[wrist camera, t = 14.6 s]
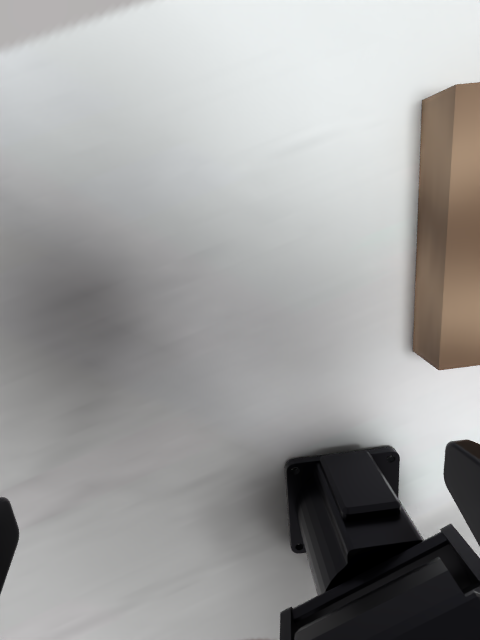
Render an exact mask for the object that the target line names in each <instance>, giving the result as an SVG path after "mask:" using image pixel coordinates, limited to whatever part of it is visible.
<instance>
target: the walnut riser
mask: <svg viewBox="0 0 480 640" xmlns="http://www.w3.org/2000/svg"><path fill="white" fill-rule="evenodd" d="M413 352H415V353H416V354H417V355H419V356H420V357H421V358H423V359H424V360H426V361H427V362H428V363H430V364H431V365H432V366H434V367H435V368H436V369H438V370H445V369H453V368H461V367H468V366H476V365H480V82H478V83H468V84H457V85H454V86H452V87H450V88H448V89H446V90H443V91H441V92H439V93H437V94H435V95H433V96H431V97H428V98H426V99H424V100H422V117H421V144H420V171H419V198H418V225H417V252H416V278H415V305H414V332H413Z"/></svg>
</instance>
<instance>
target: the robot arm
mask: <svg viewBox="0 0 480 640" xmlns="http://www.w3.org/2000/svg"><path fill="white" fill-rule="evenodd" d="M390 455H392V456H391V457H390V458H387V457H388V456H390ZM399 461H400V457H399V454H398V453H397V452H396V450H395V449H394V448H392V447H386V448H378V449H370V450H361V451H353V452H345V453H337V454H329V455H321V456H313V457H305V458H297V459H291V460H289V461H288V462H287V463H286V465H285V475H286V490H287V505H288V521H289V536H290V545H291V549H292V551H293V552H295V553H307V557H308V560H309V564H310V568H311V571H312V575H313V579H314V582H315V586H316V590H317V593H318V596H316V597H314V598H313V599H311V600H309V601H307V602H305V603H303V604H301V605H299V606H297V607H295V608H292V607H290V608H288V609H286V610H284V611H282V612H281V614H280V640H480V558H479V557H478V556H477V554H476V553H475V552H474V551H473V550H472V548H471V547H470V546H469V545H468V544H467V542H466V541H465V540H464V539H463V537H462V536H461V535H460V534H459V533H458V531H457V530H456V529H455V528H454V527H453V525H452V524H449V525H447V526H445V527H444V528H442V529H440V530H441V532H439V533H438V534H436V535H434V536H432V537H430V538H428V539H426V540H424V539H423V538H422V536H421V535H420V533H419V531H418V530H417V528H416V527H415V525H414V523H413V522H412V520H411V519H410V517H409V515H408V514H407V512H406V511H405V509H404V508H403V506H402V504H401V502H400V501H399V499H398V486H399ZM294 467H297V469H296V470H291V469H292V468H294ZM444 480H445V484H446V486H447V488H448V490H449V492H450V494H451V495H452V497H453V499H454V501H455V503H456V505H457V506H458V508H459V510H460V512H461V514H462V515H463V517H464V519H465V521H466V523H467V524H468V526H469V528H470V530H471V532H472V533H473V535H474V537H475V539H476V541H477V542H478V544H479V546H480V444H478V443H475V442H473V441H470V440H458V441H451V442H449V443H448V444H447V446H446V450H445V462H444ZM18 540H19V529H18V525H17V522H16V519H15V516H14V513H13V510H12V507H11V504H10V502H9V500H8V499H7V498H4V497H0V594H1V591H2V588H3V585H4V582H5V579H6V576H7V573H8V570H9V567H10V565H11V562H12V559H13V556H14V553H15V550H16V547H17V544H18ZM297 544H299V545H297Z"/></svg>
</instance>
